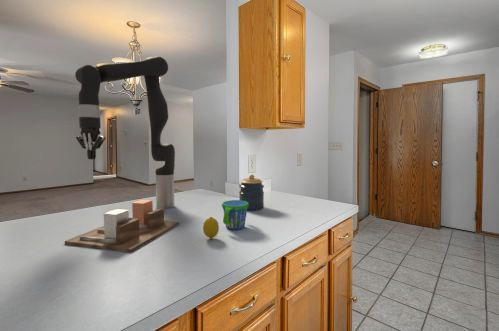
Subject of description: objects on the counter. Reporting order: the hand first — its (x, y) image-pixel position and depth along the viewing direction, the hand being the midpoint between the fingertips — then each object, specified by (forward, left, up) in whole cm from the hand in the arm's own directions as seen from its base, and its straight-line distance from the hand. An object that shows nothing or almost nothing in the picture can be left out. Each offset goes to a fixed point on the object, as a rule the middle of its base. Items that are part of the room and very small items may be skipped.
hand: (91, 159), depth 112 cm
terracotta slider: (+16, +16, -26) cm, 34 cm away
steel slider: (+28, +4, -26) cm, 38 cm away
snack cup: (+38, +46, -27) cm, 66 cm away
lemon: (+44, +32, -27) cm, 61 cm away
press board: (+21, +9, -27) cm, 35 cm away
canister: (+16, +70, -27) cm, 77 cm away
